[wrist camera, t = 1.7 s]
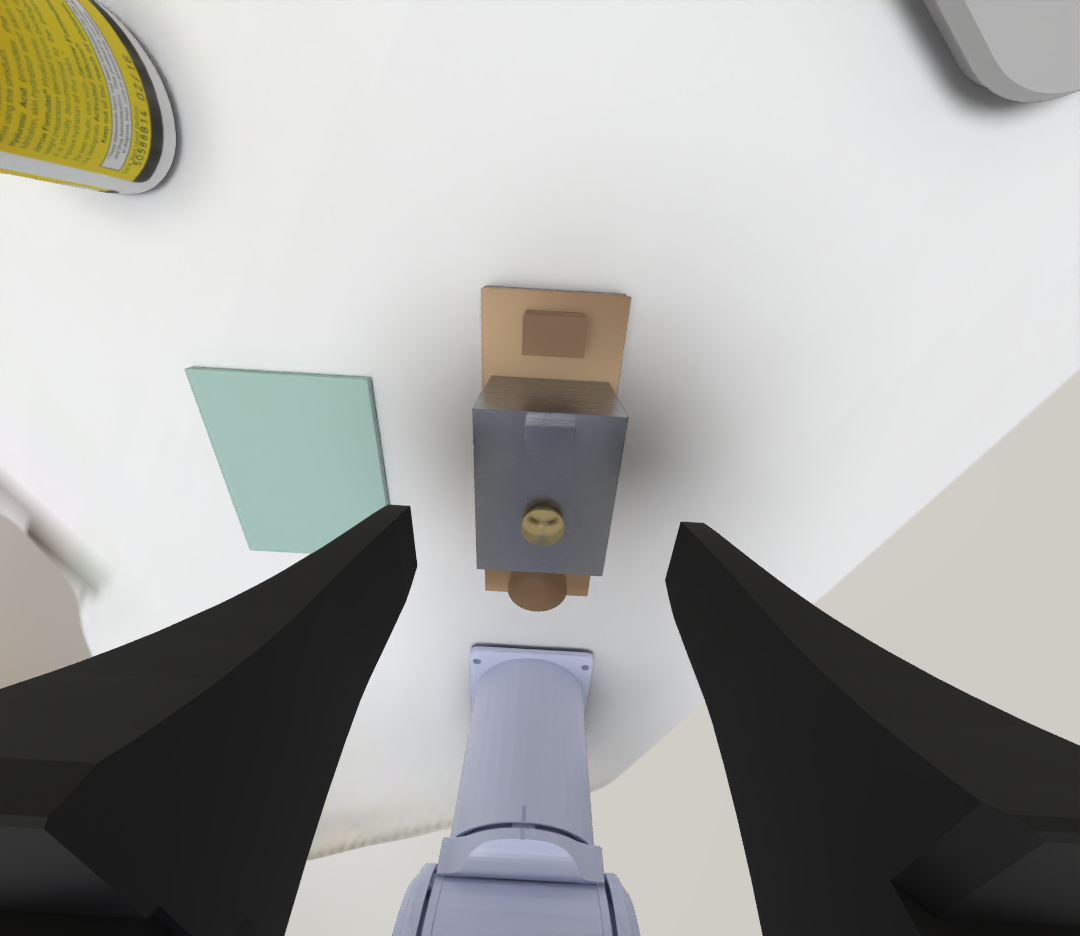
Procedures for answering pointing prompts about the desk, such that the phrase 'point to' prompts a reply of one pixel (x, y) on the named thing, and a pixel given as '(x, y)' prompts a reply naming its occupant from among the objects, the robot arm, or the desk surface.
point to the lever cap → (546, 473)
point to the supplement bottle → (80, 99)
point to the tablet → (1014, 44)
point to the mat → (293, 452)
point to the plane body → (552, 353)
